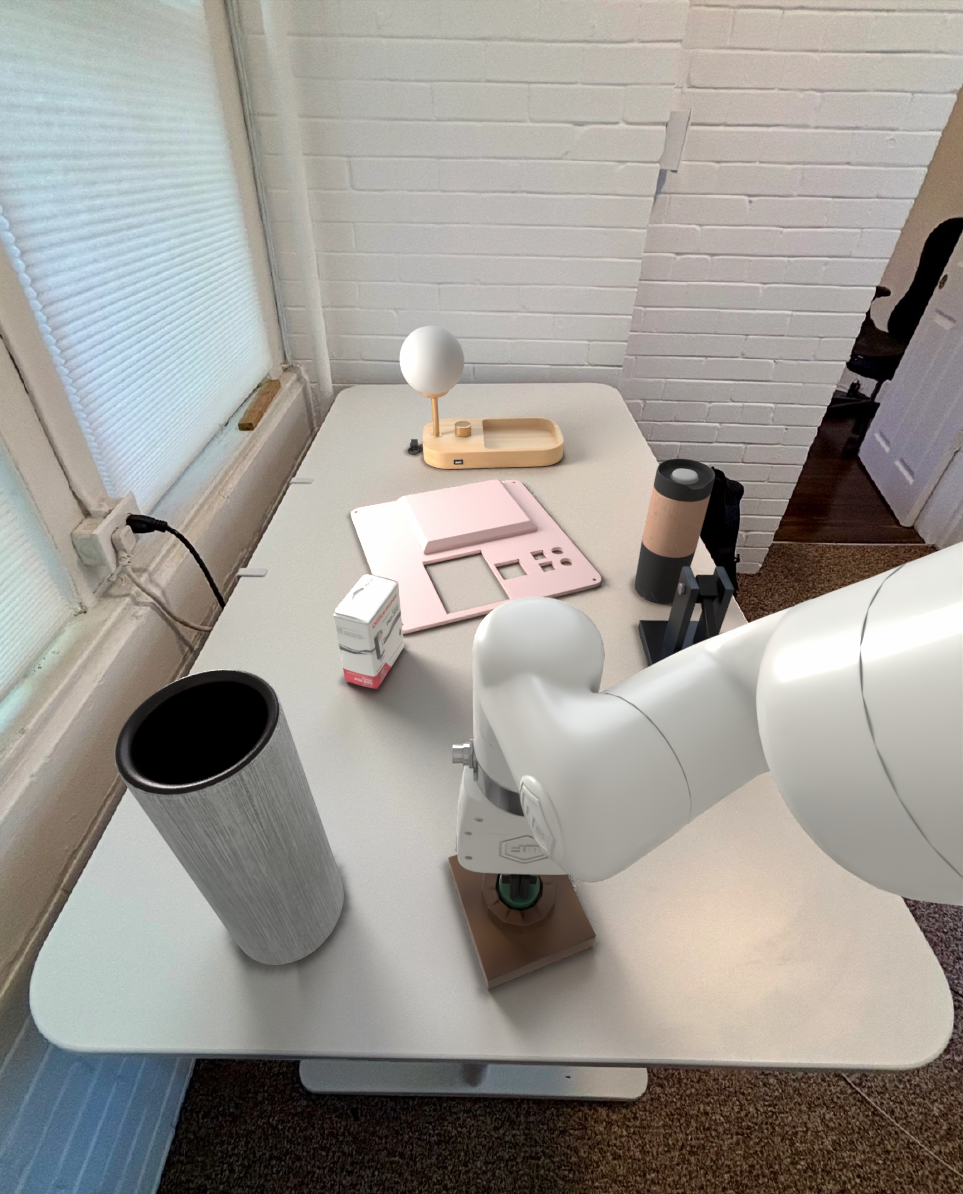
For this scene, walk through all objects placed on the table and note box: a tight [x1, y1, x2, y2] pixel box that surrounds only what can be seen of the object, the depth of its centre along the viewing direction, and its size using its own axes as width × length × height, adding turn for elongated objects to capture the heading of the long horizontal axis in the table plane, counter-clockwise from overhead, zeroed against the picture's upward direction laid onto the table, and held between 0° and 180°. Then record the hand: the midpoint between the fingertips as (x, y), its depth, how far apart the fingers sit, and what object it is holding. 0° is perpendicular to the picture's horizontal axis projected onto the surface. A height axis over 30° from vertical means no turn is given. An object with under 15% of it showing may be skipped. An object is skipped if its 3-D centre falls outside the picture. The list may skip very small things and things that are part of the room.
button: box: [499, 875, 540, 911], centre depth 53 cm, size 4×4×2 cm
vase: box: [113, 668, 345, 966], centre depth 46 cm, size 10×10×27 cm
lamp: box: [399, 325, 565, 470], centre depth 119 cm, size 33×17×25 cm, turn 93°
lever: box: [695, 574, 718, 640], centre depth 69 cm, size 15×6×2 cm, turn 179°
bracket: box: [637, 566, 735, 667], centre depth 75 cm, size 12×10×14 cm
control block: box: [448, 854, 597, 990], centre depth 54 cm, size 11×10×4 cm
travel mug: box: [634, 458, 716, 604], centre depth 84 cm, size 8×8×20 cm
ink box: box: [333, 573, 405, 690], centre depth 75 cm, size 9×5×12 cm, turn 161°
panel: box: [350, 478, 602, 635], centre depth 99 cm, size 35×33×2 cm
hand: (518, 880), depth 52 cm, fingers closed
